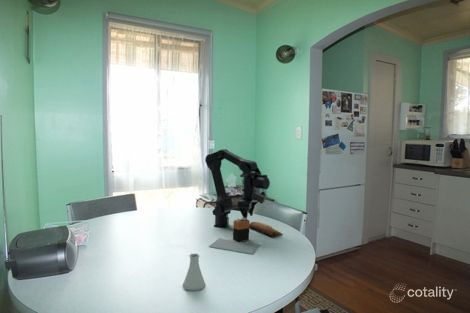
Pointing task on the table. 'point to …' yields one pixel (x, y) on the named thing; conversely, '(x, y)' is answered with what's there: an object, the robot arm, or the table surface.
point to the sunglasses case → (265, 229)
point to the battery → (241, 229)
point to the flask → (194, 275)
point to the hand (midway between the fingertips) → (248, 217)
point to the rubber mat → (235, 246)
